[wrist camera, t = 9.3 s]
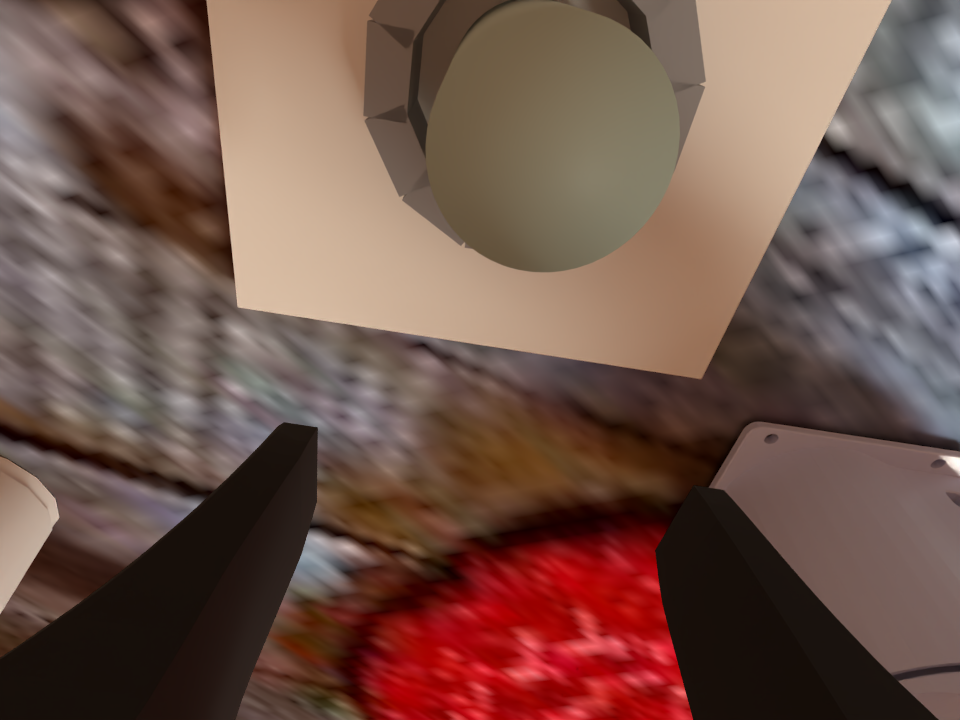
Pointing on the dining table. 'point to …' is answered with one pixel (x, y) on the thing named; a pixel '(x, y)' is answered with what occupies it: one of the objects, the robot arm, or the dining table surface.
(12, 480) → the foam cup
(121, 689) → the robot arm
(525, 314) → the socket plate
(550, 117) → the grey rounded piece
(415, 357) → the dining table surface
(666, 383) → the dining table surface
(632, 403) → the dining table surface
